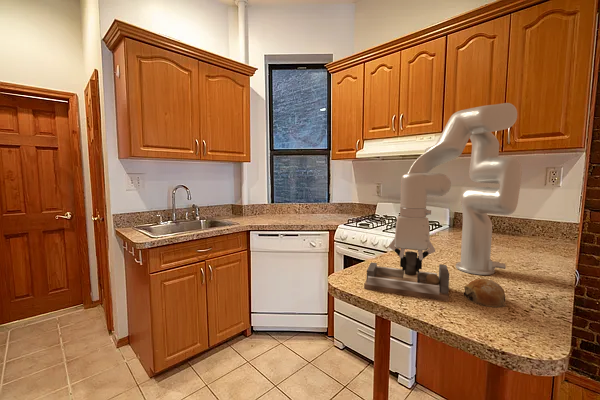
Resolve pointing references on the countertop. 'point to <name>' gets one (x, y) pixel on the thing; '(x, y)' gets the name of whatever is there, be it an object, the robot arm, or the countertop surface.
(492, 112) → the robot arm
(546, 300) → the countertop surface
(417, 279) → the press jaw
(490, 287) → the bread roll
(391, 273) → the base
